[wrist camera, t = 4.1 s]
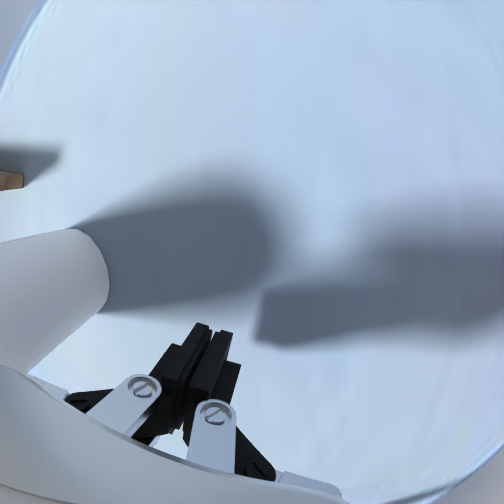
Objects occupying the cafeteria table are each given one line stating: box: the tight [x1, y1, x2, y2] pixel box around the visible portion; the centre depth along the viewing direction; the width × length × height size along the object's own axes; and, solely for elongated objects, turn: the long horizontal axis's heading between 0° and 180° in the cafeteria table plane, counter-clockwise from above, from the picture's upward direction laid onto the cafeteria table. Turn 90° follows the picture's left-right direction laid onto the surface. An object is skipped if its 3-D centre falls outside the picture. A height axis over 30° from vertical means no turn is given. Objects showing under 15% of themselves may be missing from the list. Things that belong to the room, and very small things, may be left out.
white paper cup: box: [0, 229, 110, 375], centre depth 10 cm, size 7×7×10 cm
